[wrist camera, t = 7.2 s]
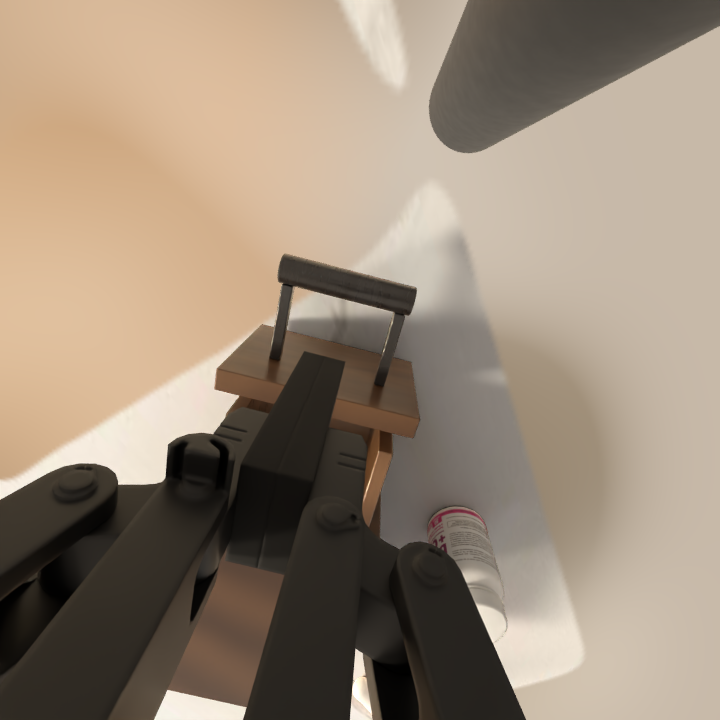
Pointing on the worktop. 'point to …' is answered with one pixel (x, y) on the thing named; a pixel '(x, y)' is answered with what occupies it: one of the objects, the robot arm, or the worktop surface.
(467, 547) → the pill bottle
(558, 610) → the worktop surface
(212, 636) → the cabinet
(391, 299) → the drawer
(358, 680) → the small white plastic part
